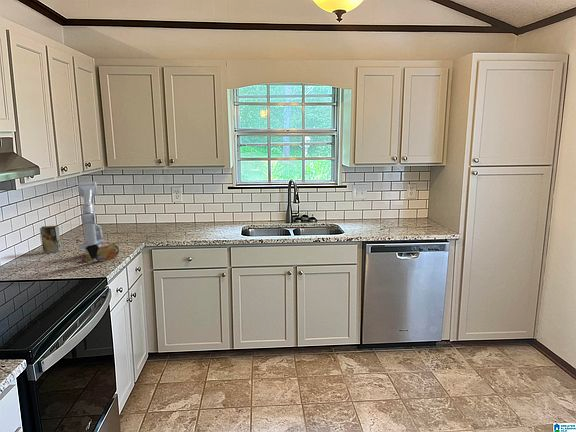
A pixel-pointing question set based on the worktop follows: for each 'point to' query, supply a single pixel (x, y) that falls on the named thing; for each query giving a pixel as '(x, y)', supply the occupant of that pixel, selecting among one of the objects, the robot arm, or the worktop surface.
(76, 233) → the worktop surface
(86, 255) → the letter block
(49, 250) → the coffee box
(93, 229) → the robot arm
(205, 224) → the worktop surface
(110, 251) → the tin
